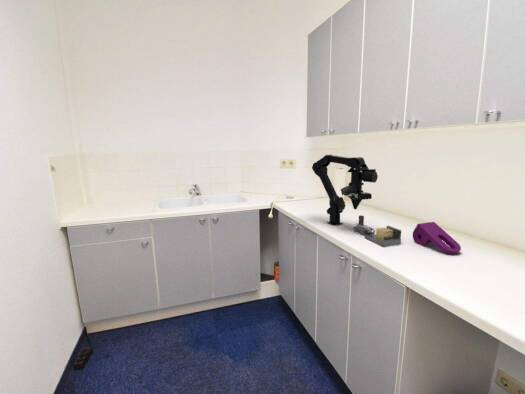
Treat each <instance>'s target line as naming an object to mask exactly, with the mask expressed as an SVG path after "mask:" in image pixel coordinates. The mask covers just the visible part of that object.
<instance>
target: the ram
mask: <svg viewBox="0 0 525 394" xmlns="http://www.w3.org/2000/svg"><path fill="white" fill-rule="evenodd" d="M364 221H365V216H364V215H358V223H356V225H355V226H358V227H360V228H363V229H365V230H366V233H371V232H372V233H374V234H375V232H376V231H375V230H374V231H373V230H372V229H373V227H371V226H368V225H366V224H364V223H365V222H364Z"/></svg>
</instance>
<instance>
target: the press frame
mask: <svg viewBox="0 0 525 394" xmlns="http://www.w3.org/2000/svg"><path fill="white" fill-rule="evenodd" d="M386 228H387V229H390V230H392V231H393V236H392V239H391V240H384V241H380V240H378V239H376V234H375V233H372V232H371V233H366V230H365V229H363V228H360V227H358V226H356V225H354V228H353V229H354V230H352V231H353V232H355V233H356V234H360V235H361V236H363V237H364V239H366V240H368V241H370V242H372V243H374V244H376V245H378V246H380V247H382V248H384V247H385V248H386V247H392V246H396V245H398V246H399V245H401V242H402V237H401V236H402V230H401V229H398V228H396V227H394V226H391V225H386ZM372 230H373V231H375V229H374V228H372Z"/></svg>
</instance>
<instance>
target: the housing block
mask: <svg viewBox="0 0 525 394" xmlns="http://www.w3.org/2000/svg"><path fill="white" fill-rule="evenodd" d="M375 230H376V231H375V232H376V234H375V235H376V239H378V240H380V241H384V240H391V239H392V236H393V231H392V230H390V229H387V227H380V228H376V229H375Z"/></svg>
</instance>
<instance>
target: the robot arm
mask: <svg viewBox="0 0 525 394" xmlns="http://www.w3.org/2000/svg"><path fill="white" fill-rule="evenodd" d="M331 163H334V164H339V165H340V164H341V165H344V166H347V167H348V168H349V169H348V170H347V173H350V182H349V183H348V185H347V186H344V187H342V188H340V192H341V195H342V196H339V195H338V194H337V191H336V190H335V188H334V185H333V184H332V183H333V182H332V181H331V178H330V177H329V175H328V166H330V164H331ZM311 169H312V171H313V173H314V174H315V175H316V176H318V177H319V179H320V181H321V184H322V186H323V187H324V190H325V192H326V195H327V196H328V198H329V204H328V205H329V208H327V209H326V214H327V215H329V221H327V223H328V224H329V225H332V226H336V225H337V226H338V225H343V223H342V222H341V213H343V212H344V210H345V208H346V202H345V200H344V198H343V196H345V197H347V198H348V199H350V200H351V204H352V208H353V210H357V209H358V207H359V206H360V204H361V202H362V200H370V199H371V200H372V199H373V198H372V197H373V194H371V193H370V192H364V190H363V189H362V188H363V186H364V185H365V184H364V183H376V182H377V180H378V177H379V176H378V172H377V170H376V168H370V169H369V167H368V165H367V164H366V161H365V159H364V157H361V156H359V157H346V156H340V155H333V154H325V155H324V156H323V157H322V158H320V159H318V160H317V161H315V162H314V163H313V164H312V167H311Z"/></svg>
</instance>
